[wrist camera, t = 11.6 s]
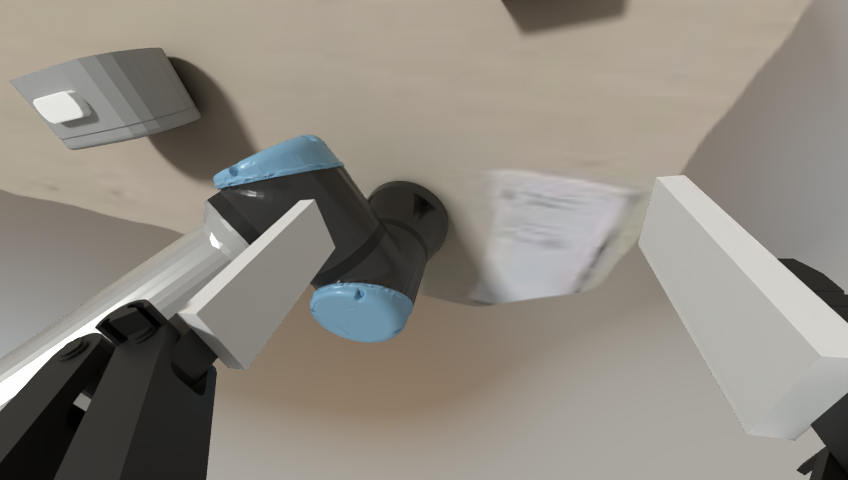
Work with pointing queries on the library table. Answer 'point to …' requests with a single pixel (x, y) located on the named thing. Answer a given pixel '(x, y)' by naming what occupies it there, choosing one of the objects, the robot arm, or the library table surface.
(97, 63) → the alarm clock
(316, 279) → the robot arm
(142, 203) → the library table surface
